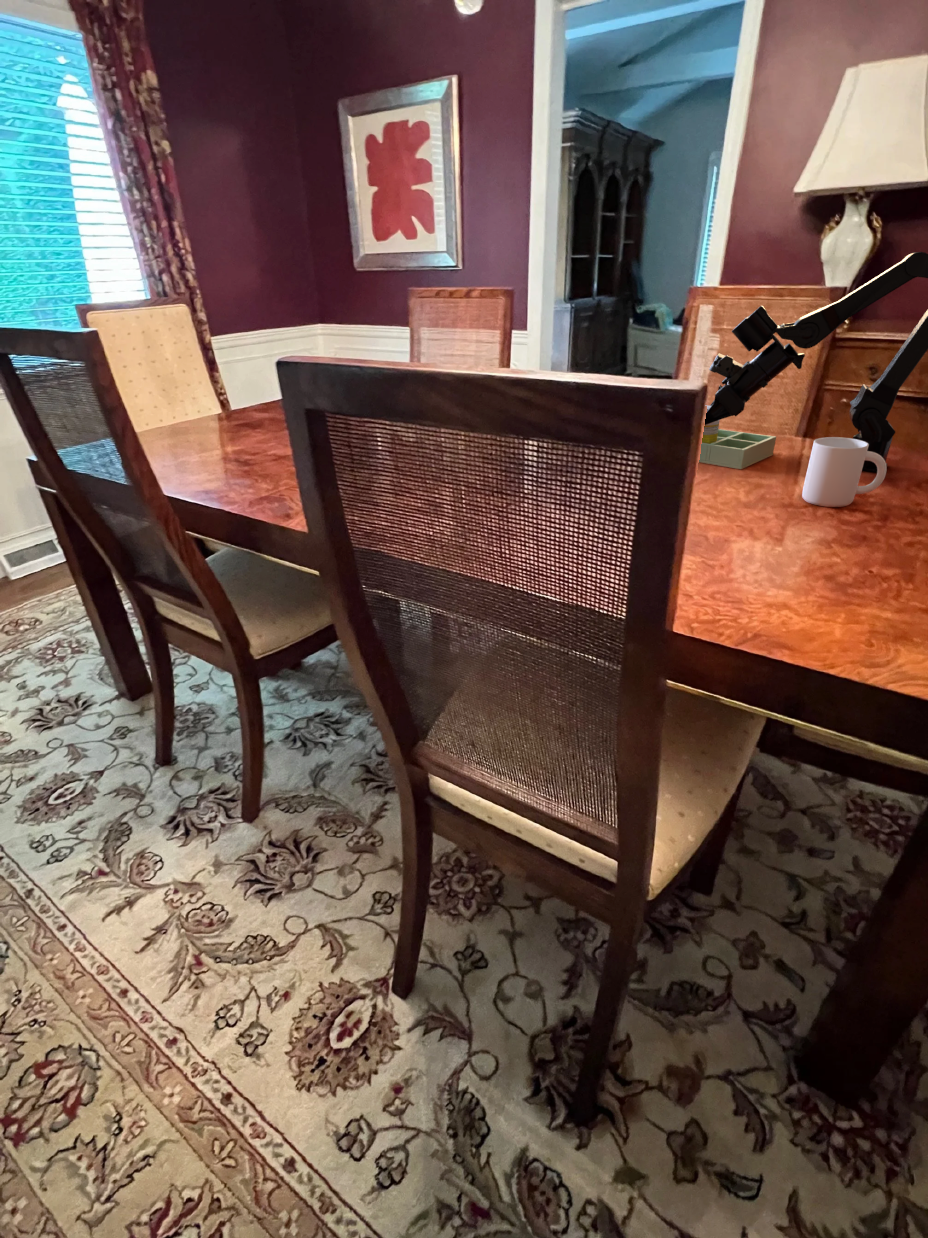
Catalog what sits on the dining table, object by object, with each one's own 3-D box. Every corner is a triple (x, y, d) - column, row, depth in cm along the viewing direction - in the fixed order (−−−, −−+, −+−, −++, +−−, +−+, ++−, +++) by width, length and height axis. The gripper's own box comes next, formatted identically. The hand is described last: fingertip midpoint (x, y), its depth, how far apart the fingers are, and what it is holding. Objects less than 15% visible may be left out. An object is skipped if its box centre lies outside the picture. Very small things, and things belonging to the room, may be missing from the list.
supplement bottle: (686, 449, 142) (692, 405, 137) (710, 448, 142) (717, 404, 137) (693, 455, 137) (699, 409, 133) (718, 454, 137) (725, 408, 132)
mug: (874, 497, 111) (890, 439, 106) (880, 511, 105) (898, 450, 100) (799, 491, 116) (812, 435, 111) (801, 505, 109) (815, 446, 104)
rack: (772, 454, 139) (776, 436, 137) (741, 469, 130) (744, 449, 128) (708, 445, 149) (711, 427, 147) (675, 458, 140) (677, 439, 139)
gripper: (740, 334, 134) (681, 388, 144) (735, 343, 120) (670, 402, 129) (773, 373, 135) (712, 423, 145) (772, 386, 120) (705, 441, 130)
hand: (699, 421), depth 137 cm, fingers closed on supplement bottle, 5 cm apart
